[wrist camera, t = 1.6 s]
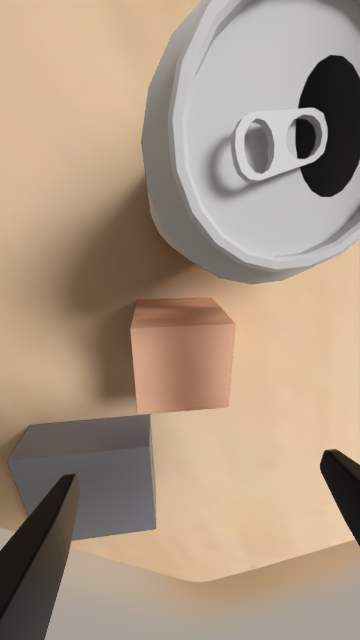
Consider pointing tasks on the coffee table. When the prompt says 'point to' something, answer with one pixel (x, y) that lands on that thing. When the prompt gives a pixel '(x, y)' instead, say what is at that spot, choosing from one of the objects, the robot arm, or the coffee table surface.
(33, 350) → the coffee table surface
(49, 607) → the robot arm
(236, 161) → the can
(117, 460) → the charcoal box
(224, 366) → the terracotta cube
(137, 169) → the coffee table surface
